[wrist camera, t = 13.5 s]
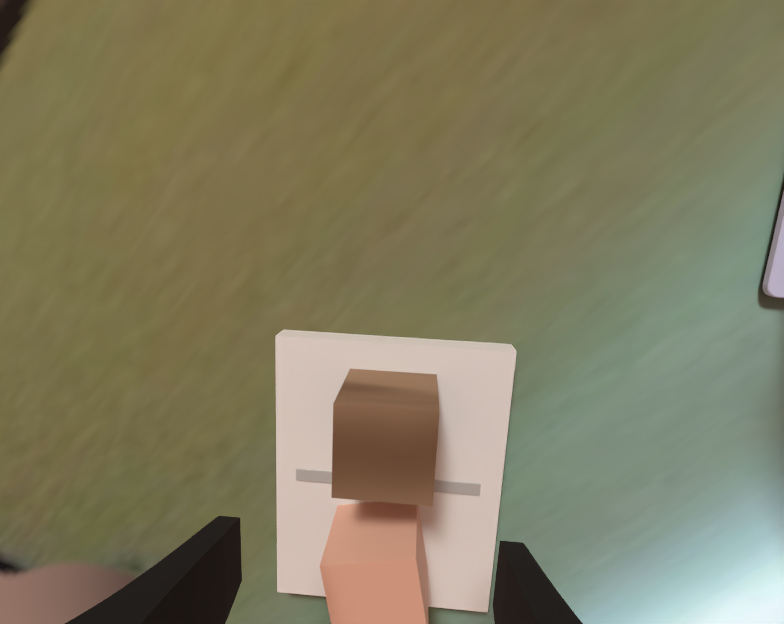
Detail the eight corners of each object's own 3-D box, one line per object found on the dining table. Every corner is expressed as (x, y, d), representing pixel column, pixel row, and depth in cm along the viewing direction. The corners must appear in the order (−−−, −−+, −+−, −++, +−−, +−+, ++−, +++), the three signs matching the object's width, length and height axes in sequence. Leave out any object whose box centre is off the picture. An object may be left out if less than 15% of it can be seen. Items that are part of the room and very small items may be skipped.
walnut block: (430, 453, 22) (432, 506, 18) (347, 447, 22) (331, 497, 18) (436, 374, 21) (439, 411, 17) (350, 368, 21) (333, 403, 17)
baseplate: (511, 344, 21) (516, 352, 20) (484, 593, 24) (487, 613, 23) (283, 329, 22) (275, 336, 21) (284, 574, 25) (277, 593, 24)
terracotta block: (427, 568, 23) (428, 640, 19) (350, 574, 23) (336, 646, 19) (417, 498, 22) (415, 558, 18) (337, 505, 22) (319, 566, 19)
